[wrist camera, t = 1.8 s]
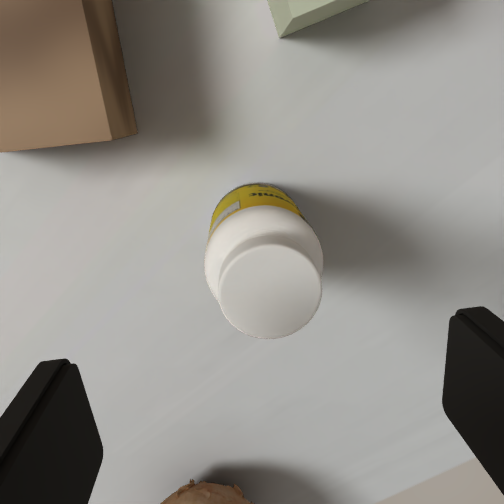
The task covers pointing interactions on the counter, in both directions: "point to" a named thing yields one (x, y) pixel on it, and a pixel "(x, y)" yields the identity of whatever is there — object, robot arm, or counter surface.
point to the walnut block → (61, 75)
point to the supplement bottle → (263, 262)
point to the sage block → (305, 12)
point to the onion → (207, 494)
